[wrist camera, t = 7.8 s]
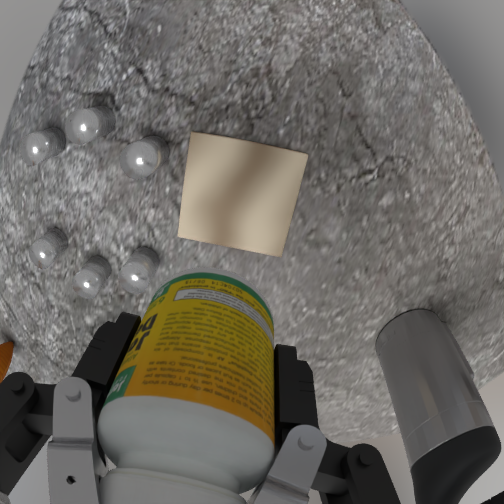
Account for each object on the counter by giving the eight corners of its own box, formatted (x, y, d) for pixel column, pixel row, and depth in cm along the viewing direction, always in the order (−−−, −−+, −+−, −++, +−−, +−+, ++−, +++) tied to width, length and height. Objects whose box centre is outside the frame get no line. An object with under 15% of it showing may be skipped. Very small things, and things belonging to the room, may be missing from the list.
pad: (307, 153, 26) (308, 155, 25) (280, 254, 31) (281, 257, 30) (192, 131, 25) (191, 132, 25) (179, 234, 30) (177, 236, 30)
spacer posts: (175, 111, 25) (160, 115, 21) (157, 291, 34) (147, 314, 30) (45, 104, 24) (21, 109, 20) (51, 265, 33) (34, 283, 29)
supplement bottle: (254, 366, 15) (243, 555, 7) (149, 339, 15) (86, 520, 6) (291, 280, 13) (309, 537, 4) (160, 246, 12) (42, 478, 4)
